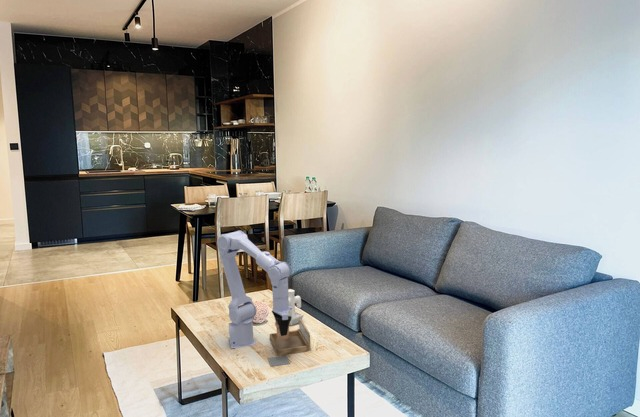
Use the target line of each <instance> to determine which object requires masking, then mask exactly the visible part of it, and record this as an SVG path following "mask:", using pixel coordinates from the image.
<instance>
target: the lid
mask: <svg viewBox="0 0 640 417" xmlns="http://www.w3.org/2000/svg"><path fill="white" fill-rule="evenodd" d="M298 326H299V328H298V329H299V330H300V331H301V333H302V335H303V336H304V338H305V340H306V342H307V343H308V351H307V352H309V351H310V346H311V335H310V334H311V333H310V331H309V329H308V328H307V326H306V325H305V322H304V321H303V319H302V320H301V318H299V324H298Z"/></svg>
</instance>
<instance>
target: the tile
mask: <svg viewBox="0 0 640 417" xmlns="http://www.w3.org/2000/svg"><path fill="white" fill-rule="evenodd" d="M267 360H268V363H269V366H270V367H278V366H286V365H291V362H290V359H289V357H288V354H287V355H280V356H279V355H276V356H272V357H267Z"/></svg>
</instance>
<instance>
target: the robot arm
mask: <svg viewBox="0 0 640 417" xmlns="http://www.w3.org/2000/svg"><path fill="white" fill-rule="evenodd" d="M216 245H217V249H218V252H219V256H220V260H221V264H222V267H223V271H224V274H225V278H226V282H227V286H228V290H229V292H230V296H231V301H230V302H229V304H228V306H227V307H228V317H229V320H230V321H231V322H230V323H228V336H229V337H228V342H229V346H230V349H231V350H232V349H236V348H242V347H243V348H244V347H250V346H256V345H257V343H256V341H255V337H254V326H253V325H254V324H253V321H254V320H255V316H256V315H257V307H256V305H255V303H254V302H253V299H252V297H251V296H248V295H246V291H245V287H244V284H243V280H242V277H241V273H240V269H239V266H238V263H237V259H236V256H237V254H238V252H239V251H240V250H242V251H244V253H246V254H248V255H249V256H251V257H252V258H254V259H255V264H256V265H258V266H259V267H260V268H261V269H263V270H264V271H265V272H266V273H267V275H268V278H269V280H270V284H271V286H272V287H271V288H272V290H271V291H272V292H271V293H272V310H271V312H272V315H273V317H274V320H275V322H276V321H277V322H278V325H279V330H280V334H281V336H285V335H287V332H288V326H289V323H290V321H291V319H292V317H291V316H288V313H289V310H291V309H292V306H289V296H288V290H289V277H290V276H291V272H292V270H291V266H290V265H289V264H288V262H286V261H280V260H278V259H277V258H275V257H274V255H272V254H271V253H270V252H269V251H262V250H260V249H259V248H258V247H257V246H256V245H255V243H253V242H252V241H251V240H250V239H249V237H248V234H247V233H244V232H243V230H240V229H239V230H236V231H233V232H228V233H221V234H220V235H219V237H218V238H217V241H216ZM289 327H290V326H289Z"/></svg>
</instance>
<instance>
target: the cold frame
mask: <svg viewBox="0 0 640 417" xmlns="http://www.w3.org/2000/svg"><path fill="white" fill-rule="evenodd" d="M289 335H290V337H289V338H288V339H285V340H280V339H278V338H277V332H273V333H269V340H270V343H271V345H272V347H273V350H274V353H275V356H285V355H287V356H288V355H293V354H301V353H307V352H309V351H308V343H307V342H306V340H305V338H304V336H303V335H302V333H301V331H300V330H299V328H297V330H295V329H294V330H289ZM311 349H312V347H311V345H310V351H312V350H311Z"/></svg>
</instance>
